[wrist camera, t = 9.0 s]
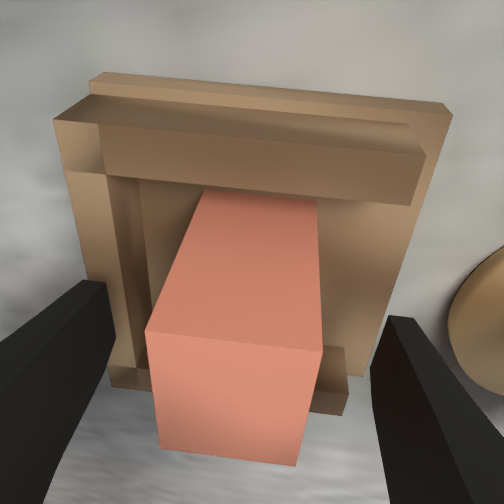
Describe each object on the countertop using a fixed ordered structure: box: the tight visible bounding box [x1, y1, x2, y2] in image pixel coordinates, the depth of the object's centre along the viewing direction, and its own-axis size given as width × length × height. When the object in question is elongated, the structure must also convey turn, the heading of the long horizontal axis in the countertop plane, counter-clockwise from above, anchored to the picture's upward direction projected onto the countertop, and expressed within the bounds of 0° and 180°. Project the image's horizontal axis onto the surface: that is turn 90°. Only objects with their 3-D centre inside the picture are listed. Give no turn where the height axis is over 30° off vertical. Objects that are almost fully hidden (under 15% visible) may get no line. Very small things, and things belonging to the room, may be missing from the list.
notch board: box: [53, 72, 453, 416], centre depth 13 cm, size 10×9×3 cm
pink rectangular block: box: [145, 189, 323, 467], centre depth 11 cm, size 4×3×6 cm
